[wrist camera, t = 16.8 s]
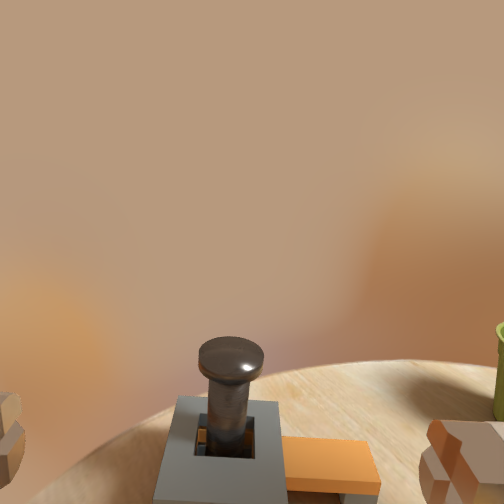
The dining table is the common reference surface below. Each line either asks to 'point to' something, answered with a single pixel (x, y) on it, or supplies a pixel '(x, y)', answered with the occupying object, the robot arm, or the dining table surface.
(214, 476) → the bracket
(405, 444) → the dining table surface
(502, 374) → the plant pot
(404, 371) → the dining table surface
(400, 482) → the dining table surface
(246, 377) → the pin
